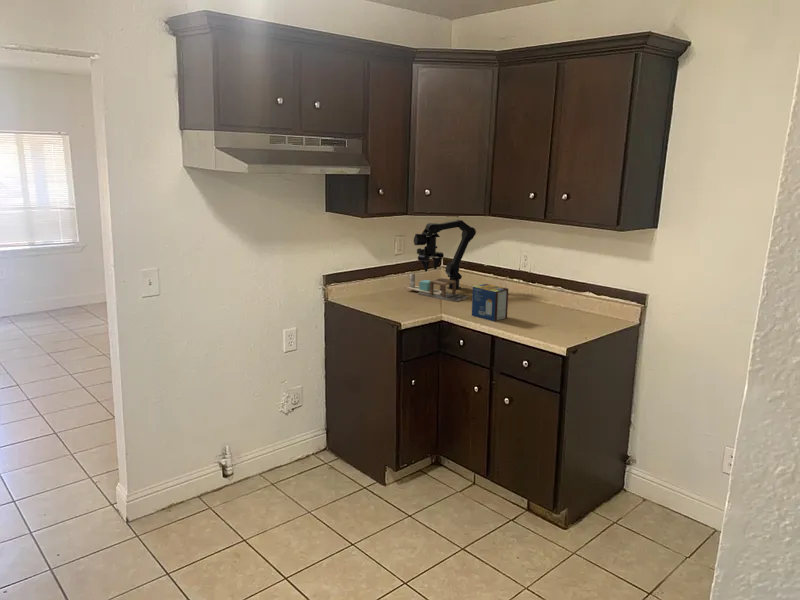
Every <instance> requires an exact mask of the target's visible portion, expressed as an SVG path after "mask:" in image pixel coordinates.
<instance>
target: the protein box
mask: <svg viewBox="0 0 800 600" xmlns="http://www.w3.org/2000/svg"><path fill="white" fill-rule="evenodd" d="M471 298H472V299H471V316H473V317H475V318H478V319H479V318H480V319H483V320H487V321H491V322H498V321H501V320H504V319H508V307H509V288H507V287H503V286H498V285H493V284H490V283H489V284H488V283H482V284H478V285H472V297H471Z"/></svg>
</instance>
